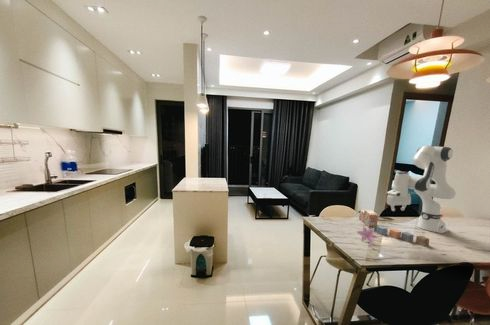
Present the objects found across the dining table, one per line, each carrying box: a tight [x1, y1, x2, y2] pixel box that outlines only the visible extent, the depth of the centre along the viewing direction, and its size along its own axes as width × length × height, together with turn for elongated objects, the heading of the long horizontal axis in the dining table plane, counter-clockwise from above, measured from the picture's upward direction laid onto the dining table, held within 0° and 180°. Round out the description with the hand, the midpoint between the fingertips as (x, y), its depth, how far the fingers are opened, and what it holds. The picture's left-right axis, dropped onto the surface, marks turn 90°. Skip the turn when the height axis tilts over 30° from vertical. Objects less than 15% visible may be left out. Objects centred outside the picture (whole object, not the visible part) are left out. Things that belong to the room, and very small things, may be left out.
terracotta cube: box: [388, 228, 402, 239], centre depth 152 cm, size 5×5×5 cm
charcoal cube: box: [400, 231, 414, 243], centre depth 148 cm, size 5×5×5 cm
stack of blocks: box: [358, 209, 379, 230], centre depth 177 cm, size 21×6×12 cm, turn 170°
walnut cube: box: [415, 235, 430, 247], centre depth 142 cm, size 5×5×5 cm
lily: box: [356, 225, 379, 245], centre depth 144 cm, size 12×12×10 cm
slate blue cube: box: [375, 225, 388, 236], centre depth 158 cm, size 5×5×5 cm
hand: (397, 210), depth 151 cm, fingers open, 8 cm apart
